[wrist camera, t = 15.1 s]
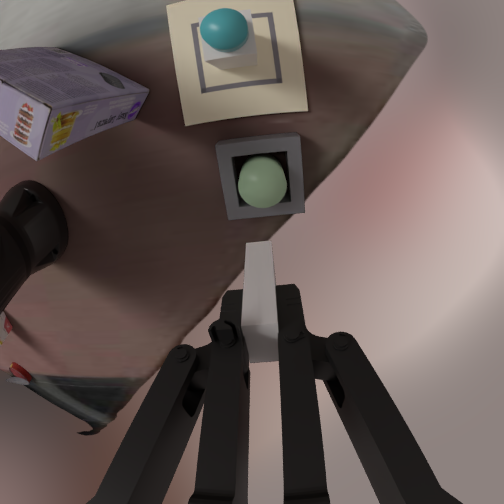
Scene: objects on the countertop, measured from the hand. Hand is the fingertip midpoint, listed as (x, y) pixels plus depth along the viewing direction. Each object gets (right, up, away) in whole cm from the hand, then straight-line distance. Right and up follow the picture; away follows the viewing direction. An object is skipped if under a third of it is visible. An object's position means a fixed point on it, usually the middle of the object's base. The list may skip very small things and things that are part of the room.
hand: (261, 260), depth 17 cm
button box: (+1, +10, +15) cm, 18 cm away
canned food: (-87, -44, +53) cm, 111 cm away
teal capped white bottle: (-2, +22, +7) cm, 24 cm away
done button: (+1, +10, +15) cm, 18 cm away
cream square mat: (-2, +22, +7) cm, 24 cm away
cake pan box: (-21, +23, +8) cm, 32 cm away
